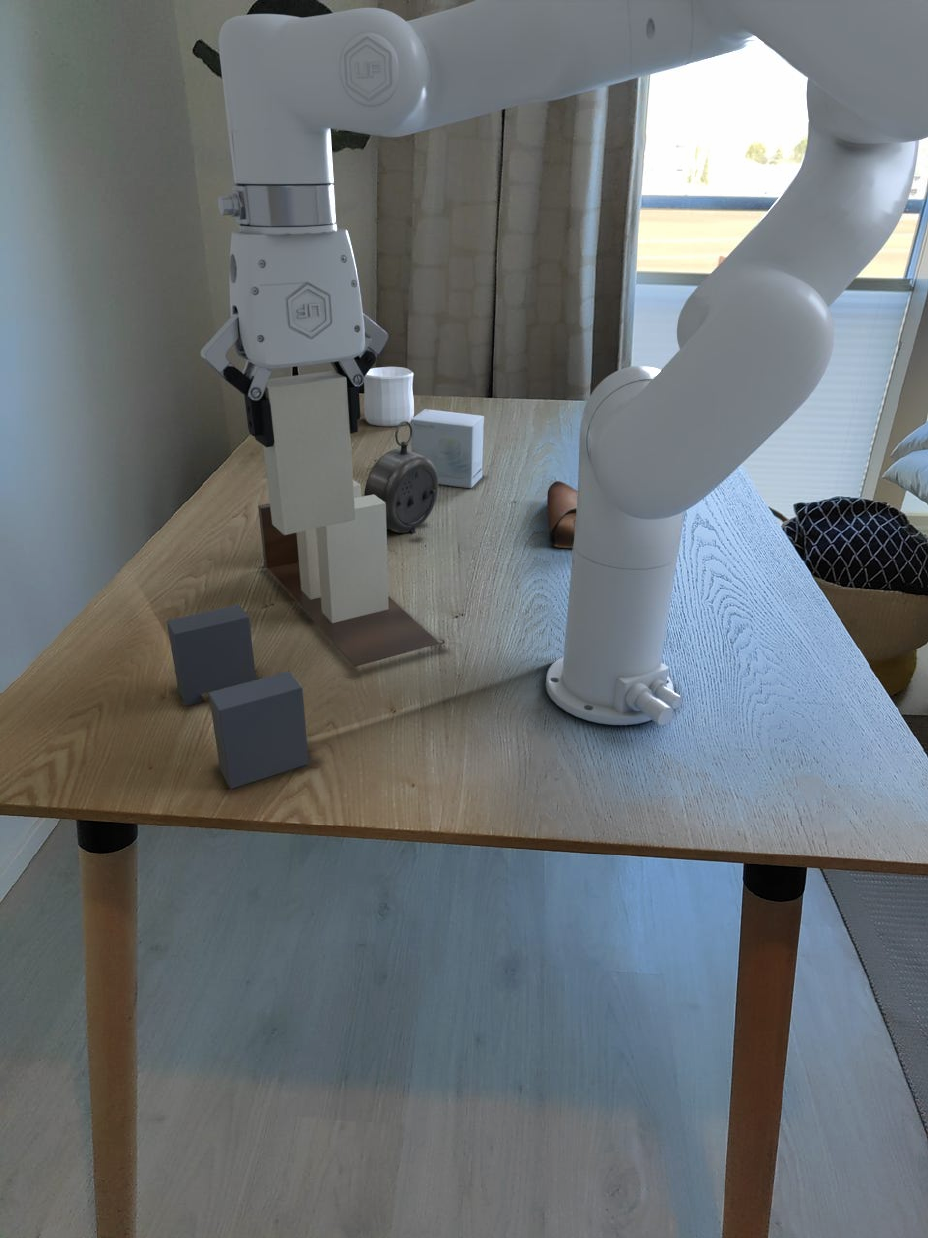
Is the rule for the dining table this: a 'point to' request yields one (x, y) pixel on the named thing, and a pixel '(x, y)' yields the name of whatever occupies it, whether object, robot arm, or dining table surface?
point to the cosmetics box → (450, 445)
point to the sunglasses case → (562, 514)
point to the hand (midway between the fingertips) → (306, 434)
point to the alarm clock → (404, 486)
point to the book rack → (352, 636)
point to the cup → (388, 396)
